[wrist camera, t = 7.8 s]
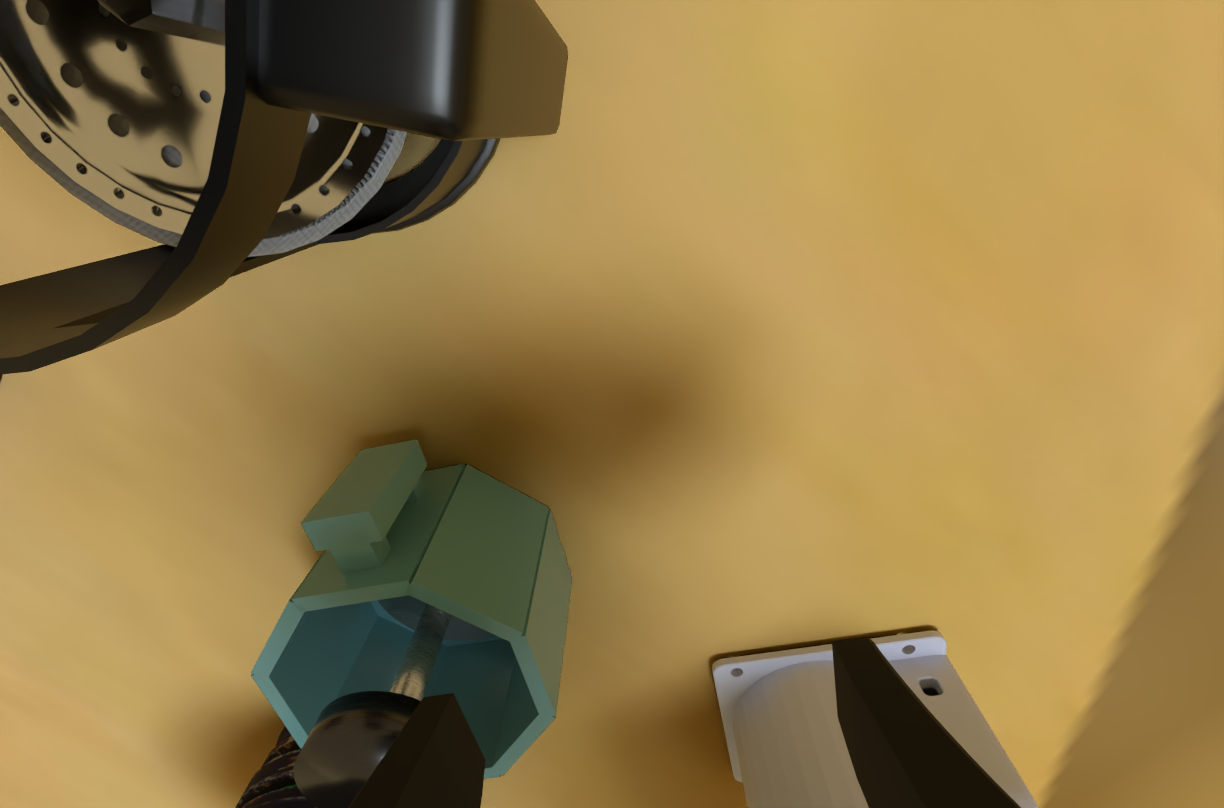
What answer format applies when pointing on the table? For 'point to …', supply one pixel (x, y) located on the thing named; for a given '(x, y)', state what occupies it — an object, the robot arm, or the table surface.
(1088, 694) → the table surface
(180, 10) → the french press
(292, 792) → the storage jar
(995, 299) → the table surface
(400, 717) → the plunger
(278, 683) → the carafe
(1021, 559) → the table surface
